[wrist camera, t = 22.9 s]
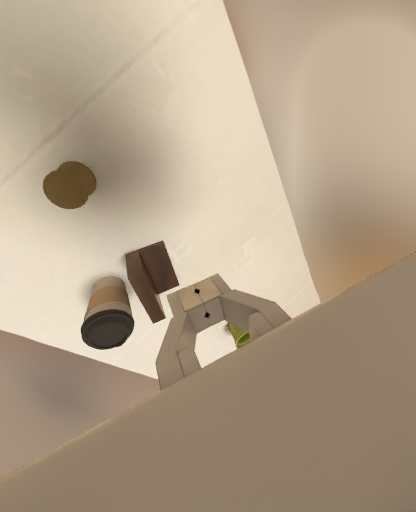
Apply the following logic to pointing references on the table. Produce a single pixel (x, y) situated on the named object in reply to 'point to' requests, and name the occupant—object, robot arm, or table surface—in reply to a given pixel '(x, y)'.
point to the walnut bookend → (151, 277)
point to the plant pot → (239, 335)
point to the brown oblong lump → (69, 185)
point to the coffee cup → (108, 315)
